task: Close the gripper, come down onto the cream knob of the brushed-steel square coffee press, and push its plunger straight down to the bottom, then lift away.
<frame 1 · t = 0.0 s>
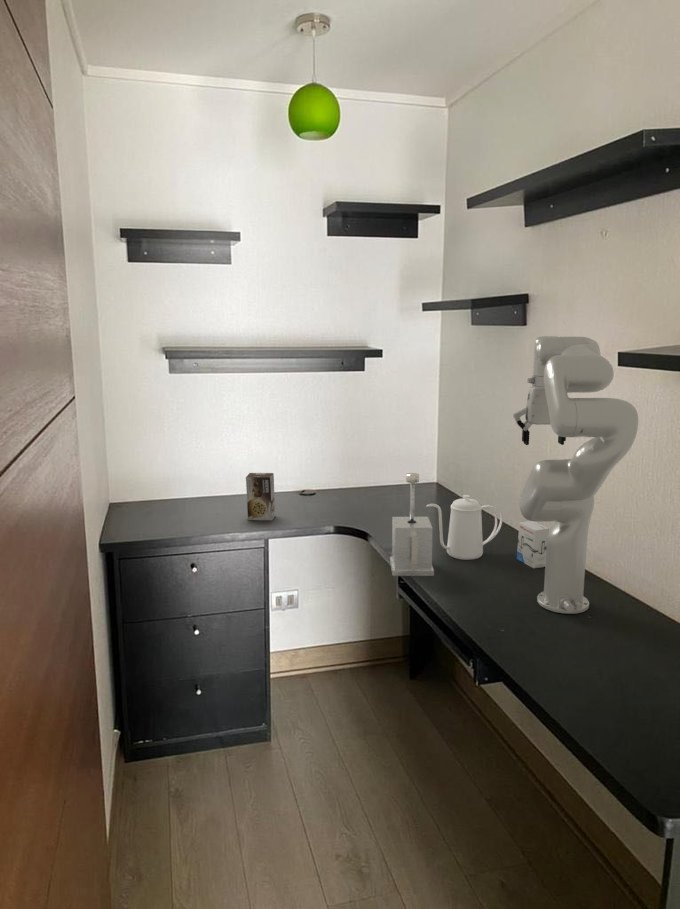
hand: (543, 444, 191), 37 cm above the table, tool pointing down, fingers open, 9 cm apart
coffeepot: (463, 555, 210), on the table
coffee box: (261, 518, 249), on the table
plunger: (412, 505, 196), point 19 cm above the table, slide at 0.0 cm
ink box: (531, 563, 204), on the table
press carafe: (411, 568, 200), on the table
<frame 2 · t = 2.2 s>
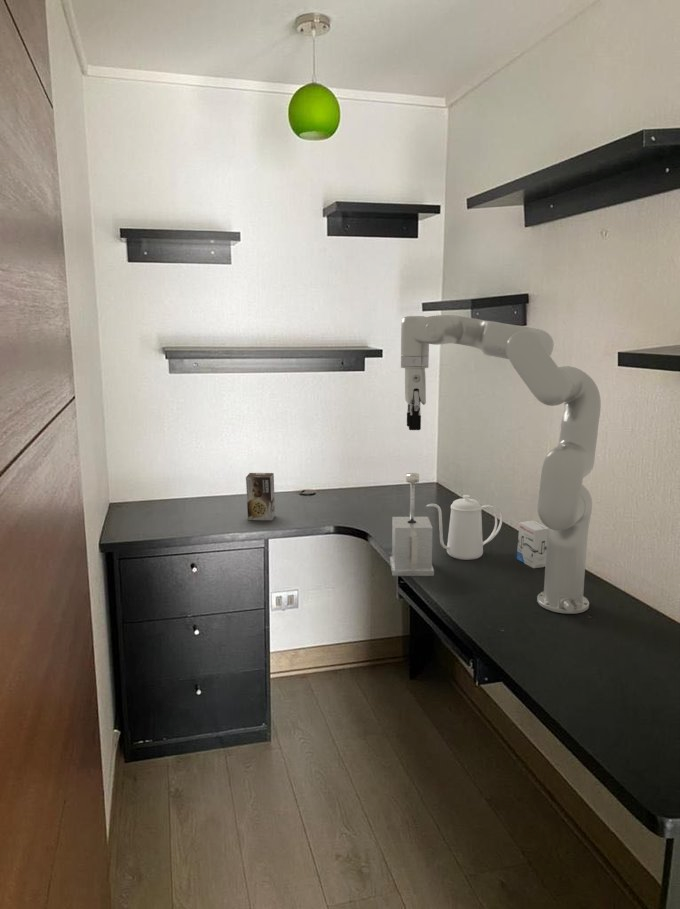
hand: (413, 427, 191), 41 cm above the table, tool pointing down, fingers open, 5 cm apart
nothing on the table moved.
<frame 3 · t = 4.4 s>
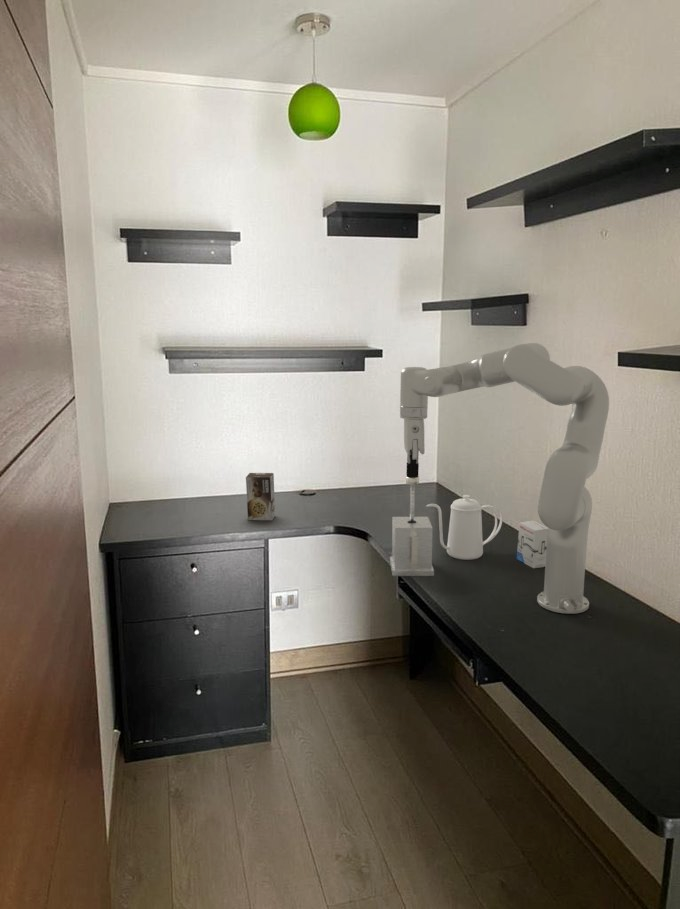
hand: (412, 476, 194), 27 cm above the table, tool pointing down, fingers closed
plunger: (412, 507, 196), point 18 cm above the table, slide at 0.7 cm, touching gripper
everything else where it was.
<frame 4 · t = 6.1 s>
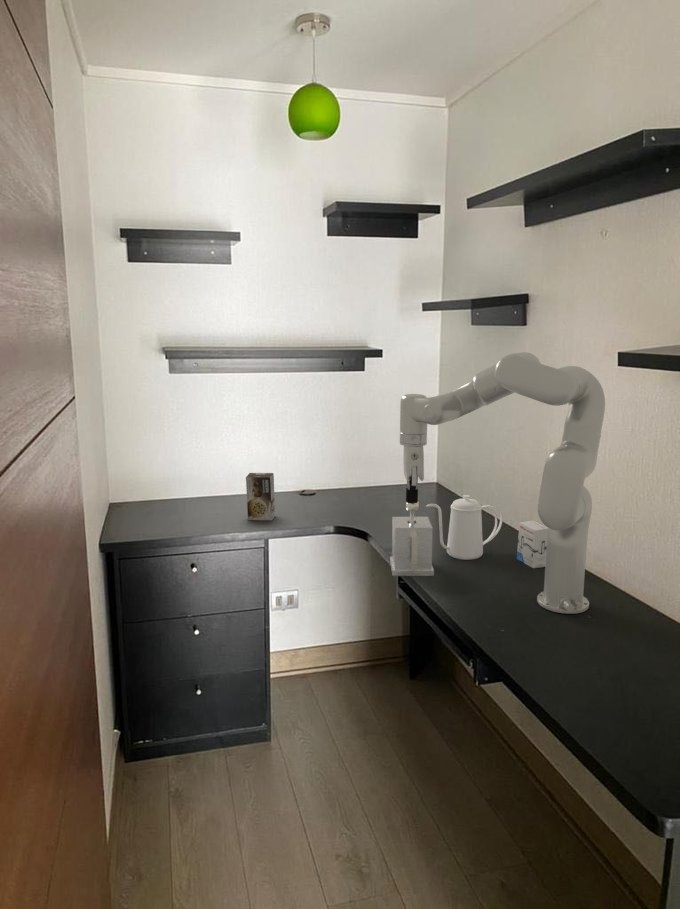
hand: (411, 502, 196), 20 cm above the table, tool pointing down, fingers closed
plunger: (411, 532, 197), point 11 cm above the table, slide at 8.1 cm, touching gripper
everything else where it was.
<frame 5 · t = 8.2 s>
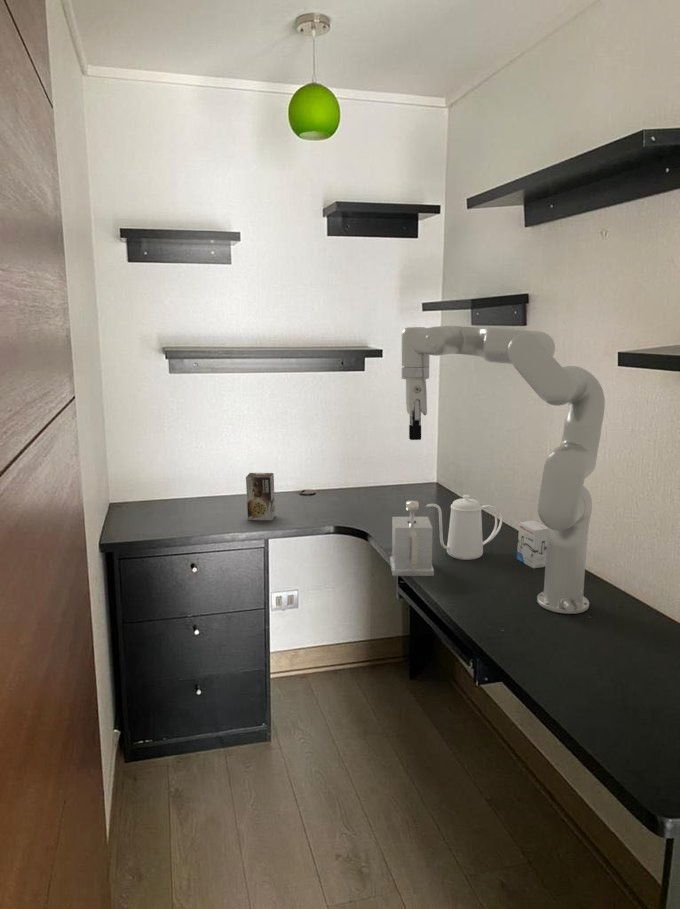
hand: (415, 439, 191), 38 cm above the table, tool pointing down, fingers closed
plunger: (411, 532, 197), point 11 cm above the table, slide at 8.1 cm
everything else where it was.
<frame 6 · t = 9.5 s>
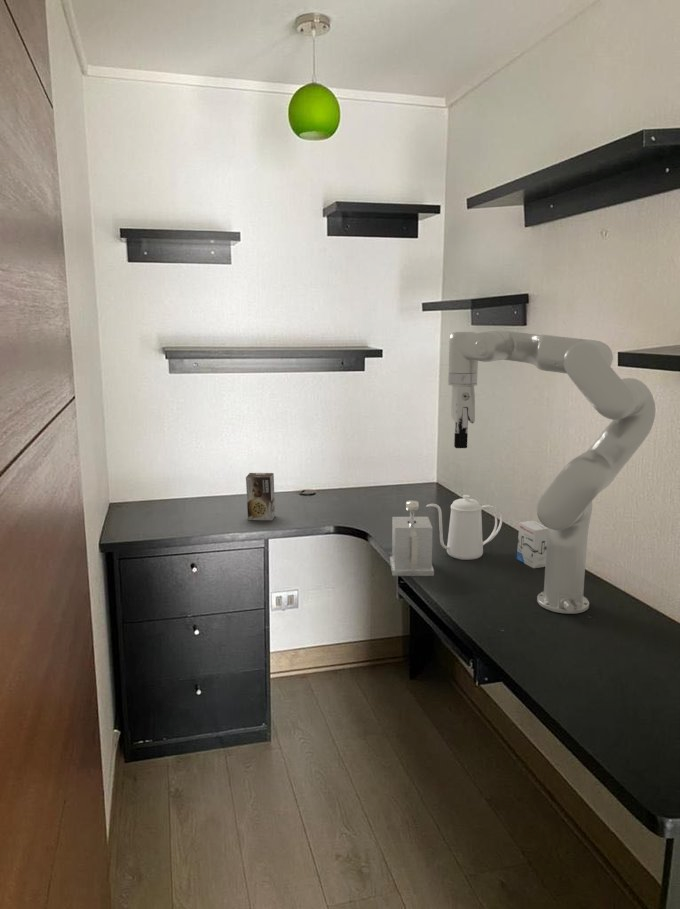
hand: (460, 447, 185), 37 cm above the table, tool pointing down, fingers closed
nothing on the table moved.
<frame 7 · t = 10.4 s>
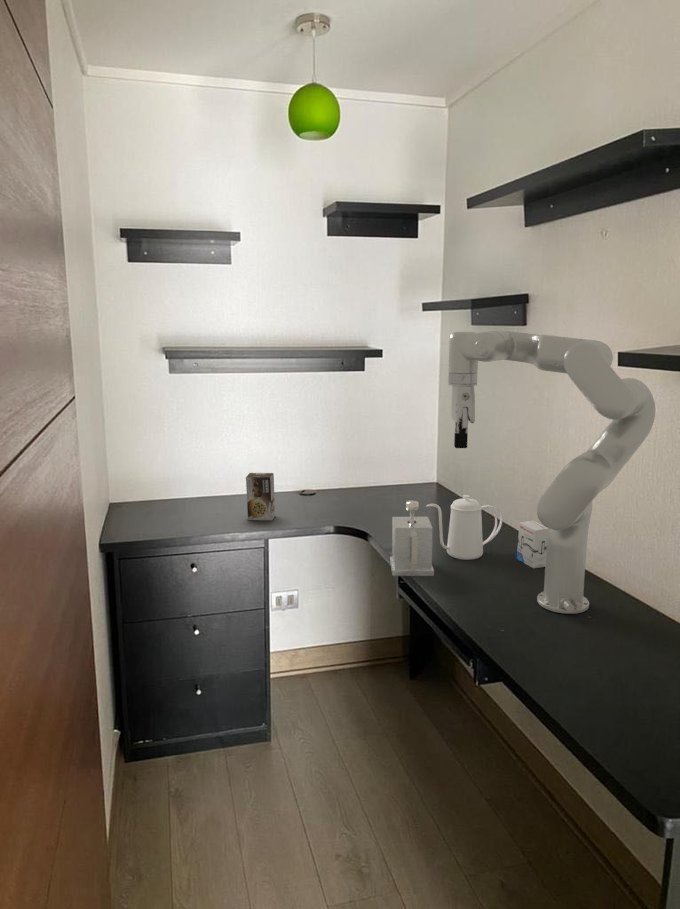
hand: (460, 447, 185), 37 cm above the table, tool pointing down, fingers closed
nothing on the table moved.
at the end: plunger slide at 8.1 cm; coffeepot moved 0.2 cm from its start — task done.
